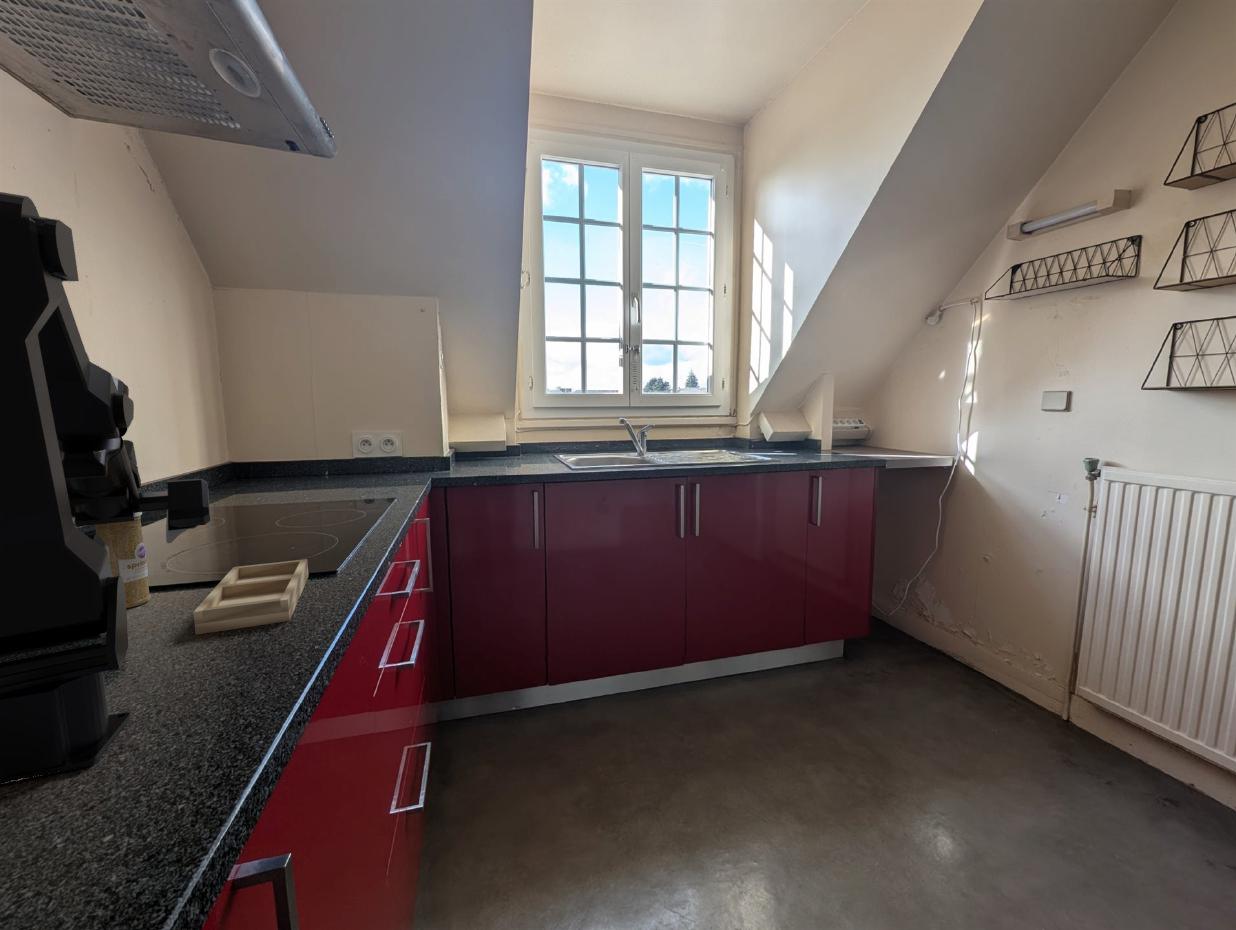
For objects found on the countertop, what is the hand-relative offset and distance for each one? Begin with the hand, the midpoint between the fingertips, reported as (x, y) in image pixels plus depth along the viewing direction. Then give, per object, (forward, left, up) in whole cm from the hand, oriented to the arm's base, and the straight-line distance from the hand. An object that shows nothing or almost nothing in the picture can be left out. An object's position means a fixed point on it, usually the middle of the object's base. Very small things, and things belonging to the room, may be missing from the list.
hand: (122, 545), depth 67 cm
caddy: (-7, -16, -8) cm, 19 cm away
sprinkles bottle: (-1, 0, -8) cm, 8 cm away
